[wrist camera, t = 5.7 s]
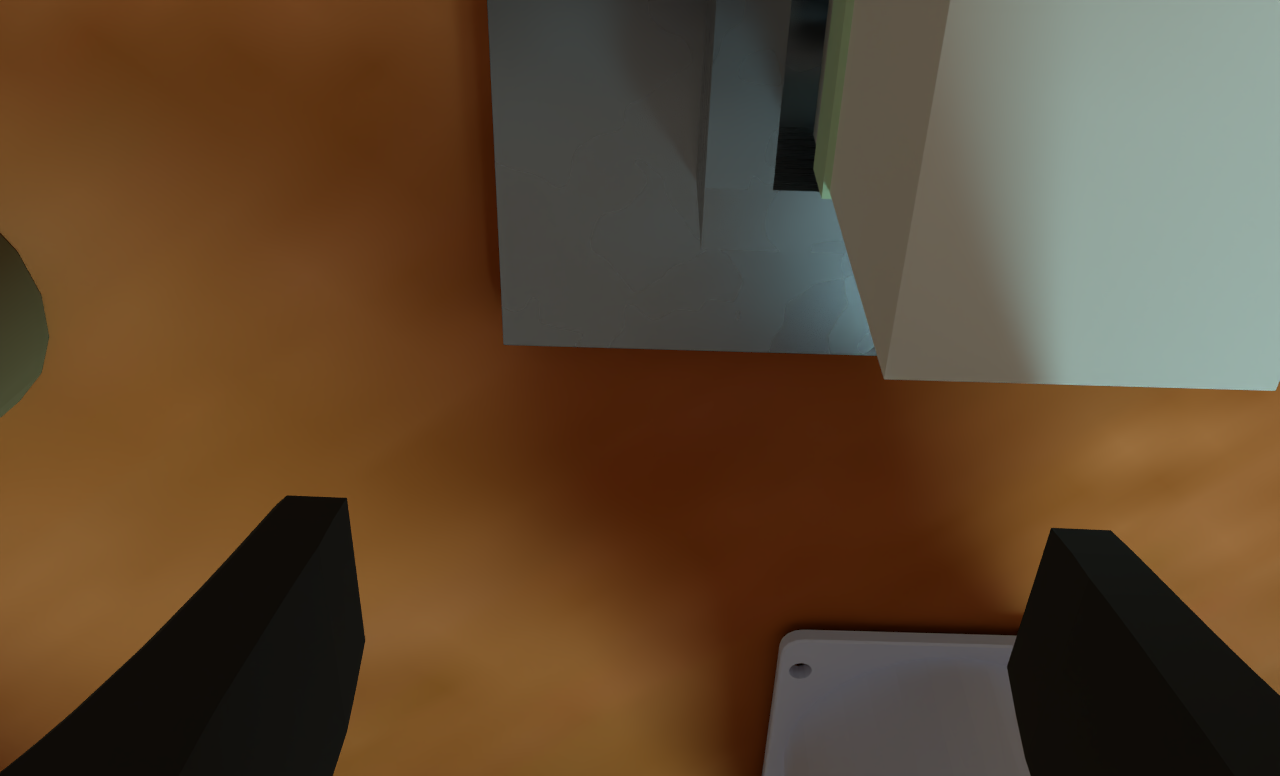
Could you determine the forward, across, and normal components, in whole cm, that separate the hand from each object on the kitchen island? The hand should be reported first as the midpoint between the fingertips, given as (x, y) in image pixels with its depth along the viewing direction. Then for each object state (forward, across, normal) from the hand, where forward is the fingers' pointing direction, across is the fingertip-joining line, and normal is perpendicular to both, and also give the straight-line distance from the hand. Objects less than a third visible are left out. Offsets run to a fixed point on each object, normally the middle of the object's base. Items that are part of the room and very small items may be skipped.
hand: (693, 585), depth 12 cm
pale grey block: (+8, -4, -4) cm, 9 cm away
